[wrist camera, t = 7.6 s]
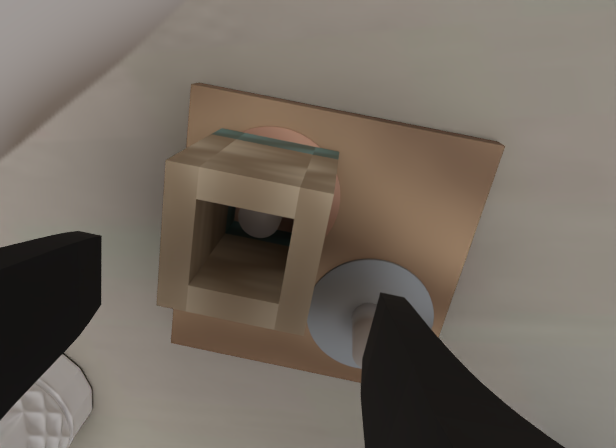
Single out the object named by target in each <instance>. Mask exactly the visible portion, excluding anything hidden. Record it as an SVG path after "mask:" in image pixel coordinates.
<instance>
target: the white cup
mask: <svg viewBox="0 0 616 448" xmlns="http://www.w3.org/2000/svg"><path fill="white" fill-rule="evenodd" d="M91 411H92V389H91V387H90V385H89V383H88V381H87V380H86V378H85V376H84V374H83V373H82V371H81V369H80V368H79V367H78V366H77V365H75V364H74V363H73V362H72V361H71V360H69V359H68V358H67V357H66V356H65V355H63V354H62V355H61V356H60V357H59V358H58V359H57V360H56V361H55V362H54V363H53V364H52V365H51V367H50V368H49V369H48V370H47V371H46V372H45V373H44V374H43V375H42V376H41V377H40V378H39V379H38V380H37V381H36V382H35V383H34V384H33V385H32V386H31V388H30V389H29V390H28V391H27V392H26V393H25V394H24V395H23V396H22V397H21V398H20V399H19V400H18V401H17V402H16V403H15V404H14V406H13V407H12V408H11V409H10V410H9V411H8V412H7V413H6V415H5V416H4V417H3V418H2V419H1V420H0V448H68V447H69V446H70V444H71V442H72V440H73V438H74V437H75V435H76V434H77V432H78V431H79V429H80V428H81V426H82V425H83V423H84V422H85V420H86V419H87V417H88V416H89V414H90V413H91Z"/></svg>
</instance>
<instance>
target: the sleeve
mask: <svg viewBox="0 0 616 448" xmlns="http://www.w3.org/2000/svg"><path fill="white" fill-rule="evenodd" d="M338 159H339V152H338V151H333V150H328V149H323V148H318V147H313V146H308V145H303V144H298V143H293V142H288V141H283V140H278V139H273V138H268V137H263V136H258V135H253V134H248V133H243V132H238V131H233V130H228V129H223V128H221V129H219V130H218V131H216V132H214V133H212V134H211V135H209V136H207V137H205V138H204V139H202V140H200V141H198V142H197V143H195V144H193V145H191V146H190V147H188V148H186V149H184V150H183V151H181V152H179V153H177V154H176V155H174V156H172V157H170V158H169V159H167V160H166V162H165V178H164V194H163V210H162V226H161V242H160V258H159V274H158V290H157V306H162V307H167V308H172V309H177V310H181V311H186V312H191V313H196V314H201V315H205V316H210V317H215V318H220V319H224V320H229V321H234V322H239V323H244V324H248V325H253V326H258V327H263V328H267V329H272V330H277V331H282V332H287V333H291V334H296V335H301V336H304V333H305V328H306V323H307V318H308V314H309V309H310V304H311V300H312V295H313V290H314V286H315V281H316V276H317V272H318V267H319V262H320V257H321V253H322V248H323V243H324V239H325V234H326V229H327V225H328V220H329V215H330V210H331V206H332V201H333V196H334V190H335V182H336V174H337V167H338ZM236 207H238V208H243V209H248V210H253V211H257V212H262V213H267V214H272V215H277V216H282V217H287V218H292V219H294V224H293V229H292V233H291V232H286V231H282V230H276V232H275V233H274V234H272V235H270V236H268V237H265V238H256V237H253V236H250V235H249V234H247V233H246V232H245V231H244V230H243V229H242V227H241V226H240V223H239V222H238V221H234V217H235V209H236Z"/></svg>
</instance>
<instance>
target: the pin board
mask: <svg viewBox="0 0 616 448" xmlns="http://www.w3.org/2000/svg"><path fill="white" fill-rule="evenodd" d="M221 128H223V129H228V130H233V131H238V132H243V133H248V134H253V135H258V136H263V137H268V138H273V139H278V140H283V141H288V142H293V143H298V144H303V145H308V146H313V147H318V148H323V149H328V150H333V151H338V152H339V159H338V167H337V174H336V182H335V190H334V196H333V201H332V206H331V210H330V215H329V220H328V225H327V229H326V234H325V239H324V243H323V248H322V253H321V257H320V262H319V267H318V272H317V276H316V281H315V286H314V290H313V295H312V300H311V304H310V309H309V314H308V318H307V323H306V328H305V333H304V336H301V335H296V334H291V333H287V332H282V331H277V330H272V329H267V328H263V327H258V326H253V325H248V324H244V323H239V322H234V321H229V320H224V319H220V318H215V317H210V316H205V315H201V314H196V313H191V312H186V311H181V310H177V309H173V322H172V335H171V343H174V344H179V345H184V346H189V347H193V348H198V349H203V350H208V351H212V352H217V353H222V354H227V355H231V356H236V357H241V358H246V359H250V360H255V361H260V362H265V363H269V364H274V365H279V366H284V367H288V368H293V369H298V370H303V371H308V372H312V373H317V374H322V375H327V376H331V377H336V378H341V379H346V380H350V381H355V382H360V383H361V373H362V358H363V354H364V350H365V347H366V343H367V339H368V336H369V332H370V328H371V325H372V321H373V317H374V314H375V310H376V306H377V303H378V299H379V295H380V292H381V293H386V294H391V295H396V296H401V297H405V298H406V299H407V301H408V302H409V303H410V304H411V305H412V306H413V308H414V309H415V310H416V311H417V313H418V314H419V315H420V316H421V318H422V319H423V320H424V321H425V322H426V324H427V325H428V326H429V327H430V329H431V330H432V331H433V332H434V333H435V334H436V336H437V337H439V334H440V332H441V329H442V326H443V323H444V320H445V317H446V314H447V312H448V309H449V306H450V303H451V300H452V297H453V294H454V291H455V289H456V286H457V283H458V280H459V277H460V274H461V271H462V268H463V266H464V263H465V260H466V257H467V254H468V251H469V248H470V246H471V243H472V240H473V237H474V234H475V231H476V228H477V225H478V223H479V220H480V217H481V214H482V211H483V208H484V205H485V203H486V200H487V197H488V194H489V191H490V188H491V185H492V182H493V180H494V177H495V174H496V171H497V168H498V165H499V162H500V159H501V157H502V154H503V151H504V148H505V146H504V145H502V144H501V143H499V142H497V141H492V140H487V139H482V138H477V137H472V136H466V135H461V134H456V133H451V132H446V131H441V130H436V129H431V128H426V127H421V126H416V125H411V124H406V123H401V122H396V121H390V120H385V119H380V118H375V117H370V116H365V115H360V114H355V113H350V112H345V111H340V110H335V109H330V108H325V107H319V106H314V105H309V104H304V103H299V102H294V101H289V100H284V99H279V98H274V97H269V96H264V95H259V94H254V93H249V92H243V91H238V90H233V89H228V88H223V87H218V86H213V85H208V84H203V83H195V84H191V93H190V106H189V119H188V131H187V144H186V148H188V147H190V146H191V145H193V144H195V143H197V142H198V141H200V140H202V139H204V138H205V137H207V136H209V135H211V134H212V133H214V132H216V131H218V130H219V129H221ZM234 221H238V222H239V223H240V226H241V227H242V229H243V230H244V231H245V232H246V233H247V234H249V235H250V236H253V237H256V238H265V237H268V236H270V235H272V234H274V233H275V232H276V230H282V231H286V232H291V233H292V229H293V224H294V219H292V218H287V217H282V216H277V215H272V214H267V213H262V212H257V211H253V210H248V209H243V208H238V207H236V209H235V217H234Z"/></svg>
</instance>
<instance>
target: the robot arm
mask: <svg viewBox="0 0 616 448" xmlns="http://www.w3.org/2000/svg"><path fill="white" fill-rule="evenodd" d="M100 305H101V236H100V235H95V234H90V233H85V232H80V231H75V232H67V233H61V234H56V235H52V236H47V237H43V238H38V239H34V240H30V241H26V242H22V243H18V244H14V245H9V246H5V247H1V248H0V420H1V419H2V418H3V417H4V416H5V415H6V413H7V412H8V411H9V410H10V409H11V408H12V407H13V406H14V404H15V403H16V402H17V401H18V400H19V399H20V398H21V397H22V396H23V395H24V394H25V393H26V392H27V391H28V390H29V389H30V388H31V386H32V385H33V384H34V383H35V382H36V381H37V380H38V379H39V378H40V377H41V376H42V375H43V374H44V373H45V372H46V371H47V370H48V369H49V368H50V367H51V365H52V364H53V363H54V362H55V361H56V360H57V359H58V358H59V357H60V356H61V355H62V354H63V353H64V352H65V351H66V350H67V348H68V347H69V346H70V345H71V344H72V343H73V342H74V341H75V340H76V339H77V338H78V336H79V335H80V334H81V333H82V331H83V330H84V329H85V327H86V326H87V324H88V323H89V322H90V320H91V319H92V317H93V316H94V314H95V313H96V311H97V310H98V308H99V307H100ZM361 405H362V417H363V429H364V440H365V448H564V447H563V446H562V445H560V444H559V443H557V442H556V441H554V440H553V439H551V438H550V437H548V436H547V435H546V434H544V433H543V432H542V431H540V430H539V429H538V428H536V427H535V426H534V425H532V424H531V423H530V422H528V421H527V420H526V419H524V418H523V417H521V416H520V415H519V414H518V413H516V412H515V411H514V410H513V409H511V408H510V407H509V406H508V405H506V404H505V403H504V402H503V401H502V400H501V399H499V398H498V397H497V396H496V395H495V394H494V393H493V392H491V391H490V390H489V389H488V388H487V387H486V386H485V385H483V384H482V383H481V382H480V381H479V380H478V379H477V378H476V377H475V376H474V375H473V374H472V373H471V372H470V371H469V370H468V369H467V368H466V367H465V366H464V365H463V364H462V363H461V362H460V361H459V360H458V359H457V358H456V357H455V356H454V355H453V354H452V353H451V351H450V350H449V349H448V348H447V347H446V346H445V345H444V344H443V343H442V341H441V340H440V339H439V338H438V337H437V336H436V334H435V333H434V332H433V331H432V330H431V329H430V327H429V326H428V325H427V324H426V322H425V321H424V320H423V319H422V318H421V316H420V315H419V314H418V313H417V311H416V310H415V309H414V308H413V306H412V305H411V304H410V303H409V302H408V301H407V299H406V298H405V297H401V296H396V295H391V294H386V293H381V292H380V295H379V299H378V303H377V306H376V310H375V314H374V317H373V321H372V325H371V328H370V332H369V336H368V339H367V343H366V347H365V350H364V354H363V358H362V373H361Z"/></svg>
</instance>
